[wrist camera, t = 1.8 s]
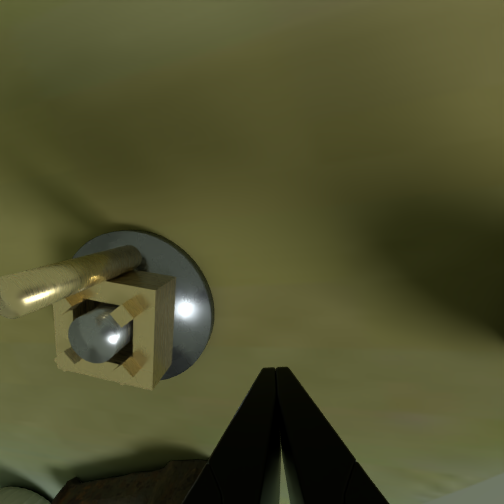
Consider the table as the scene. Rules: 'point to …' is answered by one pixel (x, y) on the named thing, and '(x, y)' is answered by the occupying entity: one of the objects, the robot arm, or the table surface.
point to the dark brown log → (136, 486)
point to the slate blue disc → (114, 337)
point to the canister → (20, 496)
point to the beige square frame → (93, 295)
